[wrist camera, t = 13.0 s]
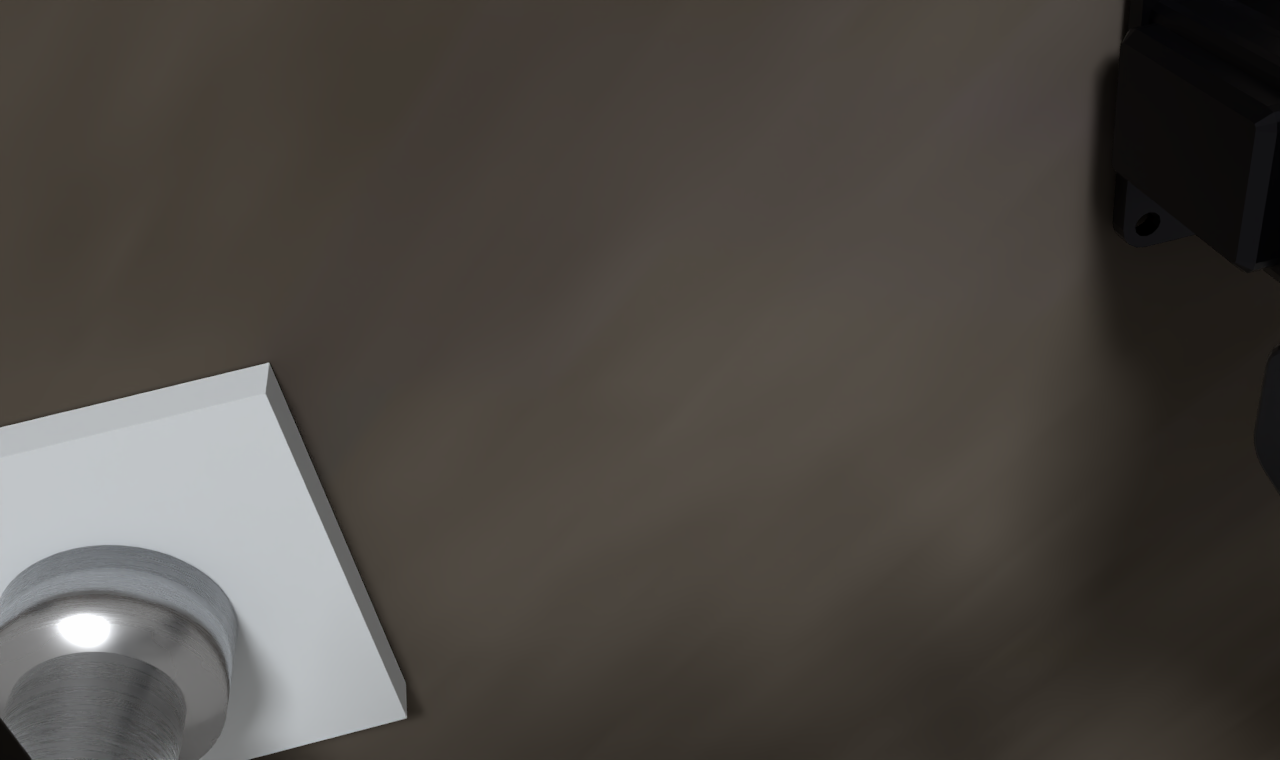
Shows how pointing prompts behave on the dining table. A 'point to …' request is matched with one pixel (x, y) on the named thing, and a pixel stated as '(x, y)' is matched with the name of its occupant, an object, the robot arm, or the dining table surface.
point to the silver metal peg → (115, 656)
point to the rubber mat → (216, 543)
